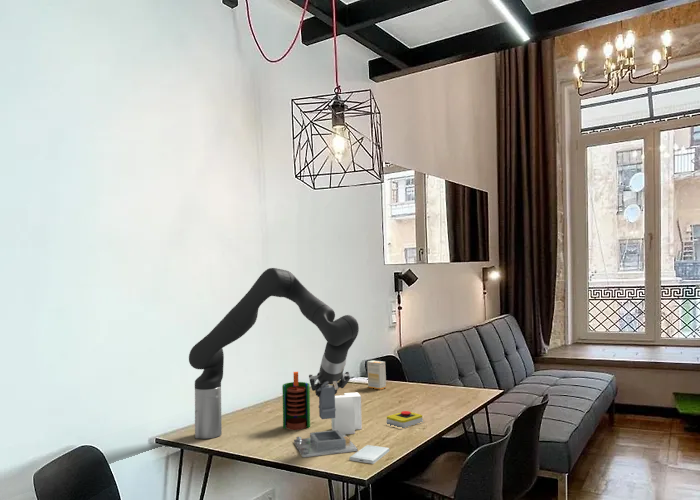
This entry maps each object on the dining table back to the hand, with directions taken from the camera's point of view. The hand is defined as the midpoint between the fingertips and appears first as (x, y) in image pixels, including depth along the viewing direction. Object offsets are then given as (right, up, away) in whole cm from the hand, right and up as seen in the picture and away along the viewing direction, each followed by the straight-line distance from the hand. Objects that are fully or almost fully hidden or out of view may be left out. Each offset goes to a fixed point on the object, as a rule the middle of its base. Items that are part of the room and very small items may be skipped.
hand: (325, 393), depth 181 cm
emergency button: (+29, -18, +22) cm, 41 cm away
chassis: (0, -17, -3) cm, 17 cm away
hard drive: (+15, -17, -12) cm, 25 cm away
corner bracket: (+7, -18, +16) cm, 25 cm away
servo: (+1, -7, -2) cm, 8 cm away
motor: (-12, -18, +21) cm, 30 cm away
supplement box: (+22, -20, +83) cm, 88 cm away
